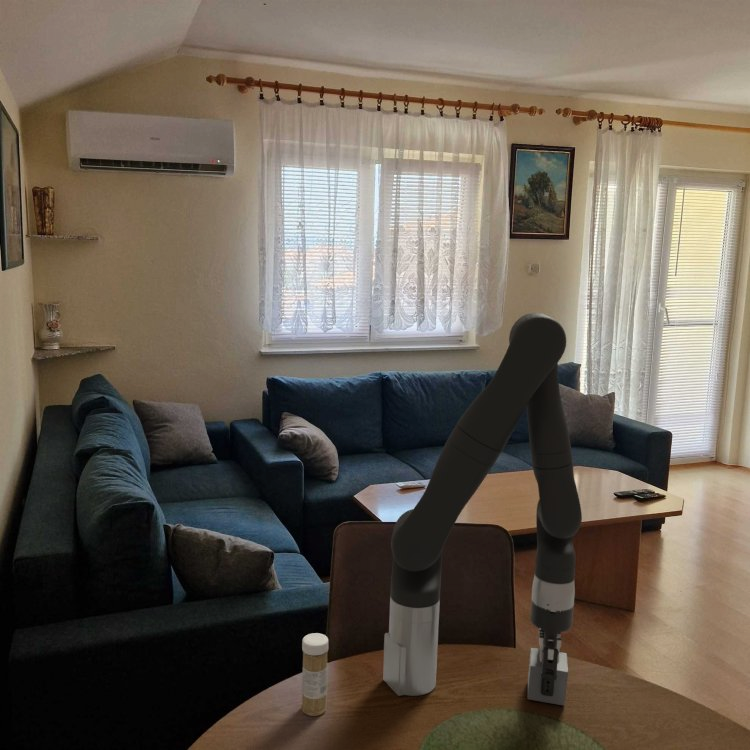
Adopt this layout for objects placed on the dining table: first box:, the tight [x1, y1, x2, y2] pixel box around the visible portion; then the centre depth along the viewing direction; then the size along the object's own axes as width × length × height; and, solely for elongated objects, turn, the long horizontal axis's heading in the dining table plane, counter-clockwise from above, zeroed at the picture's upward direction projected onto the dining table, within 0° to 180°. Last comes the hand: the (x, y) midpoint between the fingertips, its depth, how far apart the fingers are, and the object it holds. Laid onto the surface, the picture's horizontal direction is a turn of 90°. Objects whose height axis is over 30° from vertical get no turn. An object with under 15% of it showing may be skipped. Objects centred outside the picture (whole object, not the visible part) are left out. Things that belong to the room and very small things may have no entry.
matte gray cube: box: [526, 647, 569, 706], centre depth 134 cm, size 7×7×7 cm
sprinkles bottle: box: [301, 632, 329, 717], centre depth 127 cm, size 5×5×13 cm
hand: (546, 683), depth 134 cm, fingers closed on matte gray cube, 6 cm apart
